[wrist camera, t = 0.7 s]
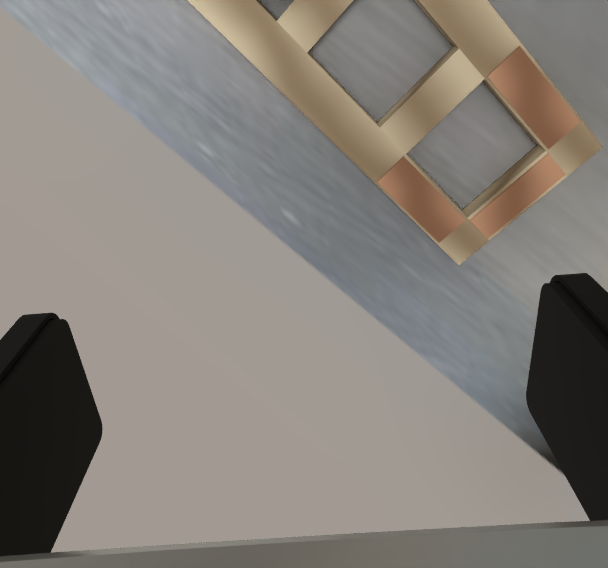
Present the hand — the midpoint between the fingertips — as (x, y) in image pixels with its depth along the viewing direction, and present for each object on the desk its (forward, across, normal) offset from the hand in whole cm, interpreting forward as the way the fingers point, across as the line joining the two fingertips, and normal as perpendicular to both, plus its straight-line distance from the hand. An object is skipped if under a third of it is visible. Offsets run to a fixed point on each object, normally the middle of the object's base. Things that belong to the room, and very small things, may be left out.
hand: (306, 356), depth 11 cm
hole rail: (+28, -5, -3) cm, 29 cm away
